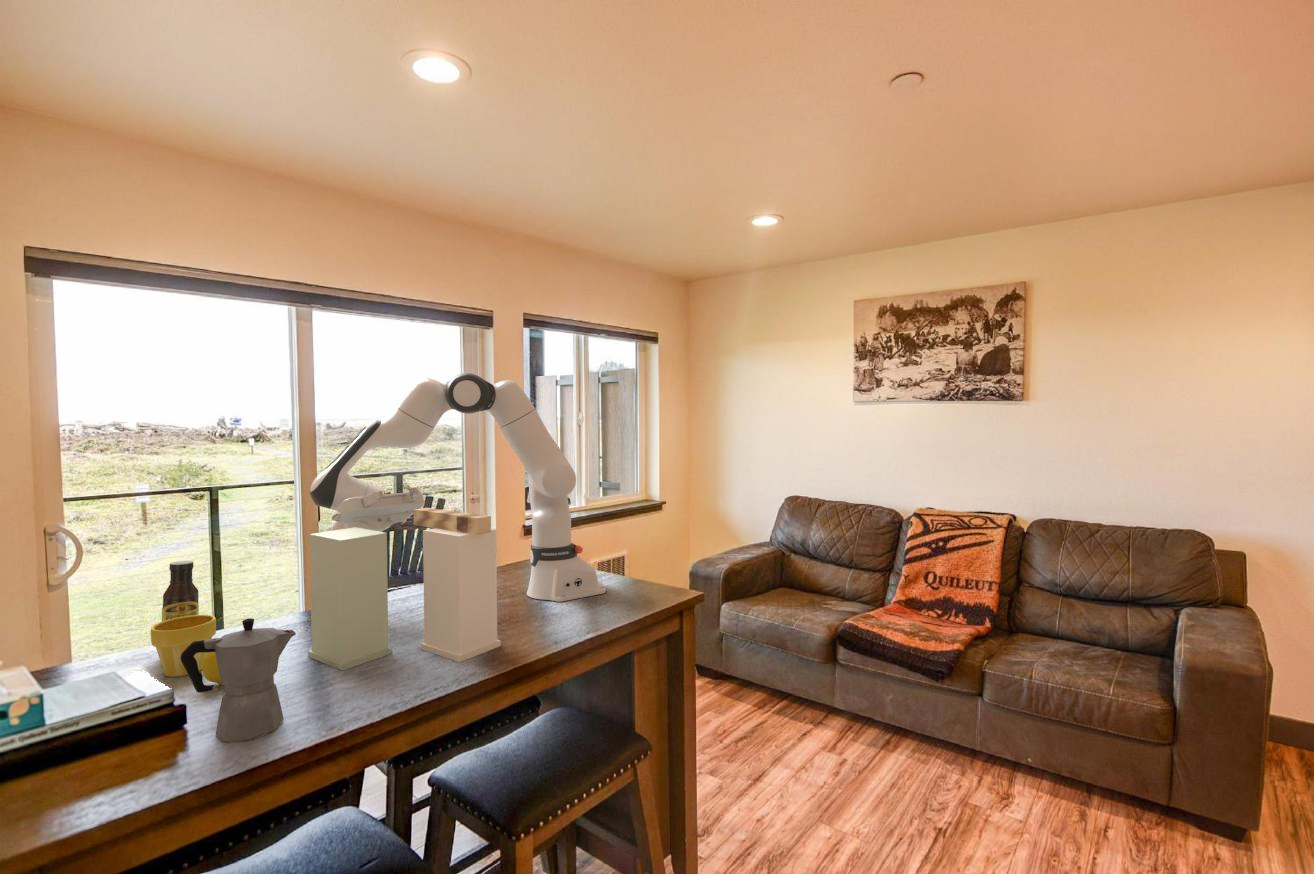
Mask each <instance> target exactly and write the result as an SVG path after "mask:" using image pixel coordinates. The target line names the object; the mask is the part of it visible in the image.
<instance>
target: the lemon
mask: <svg viewBox="0 0 1314 874" xmlns="http://www.w3.org/2000/svg"><path fill="white" fill-rule="evenodd" d="M201 671H202V675H203V676H204V679H206V680H207V681H208V682H210V683H215V684H217V685H219V686H221V685H224V684H223V683H222V682H221V678H220V673H219V668H218V663H217V659H216V654H215V652H207V653H206V654H205V656H204V659H203V665H202V670H201Z"/></svg>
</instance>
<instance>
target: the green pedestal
mask: <svg viewBox="0 0 1314 874" xmlns="http://www.w3.org/2000/svg"><path fill="white" fill-rule="evenodd" d="M387 534H388V532H384V531H381V532H379V531H374V530H368V529H362V528H357V527H354V528H347V529H341V530H334V531H330V530H328V531H323V532H315V533H314V532H313V533H310V534H309V567H310V569H309V570H310V576H309V579H310V620H311V622H310V623H311V625H310V627H311V649H310V650H307V653H308V654H307V656H308V657H309V658H310V659H313V660H316V661H317V662H320V663H323V664H325V665H327V666H329V667H332V668H335V669H337V670H339V671H345V670H348V669H351V668H354V667H356V666H359V665H361V664H365V663H368V662H372V661H373V660H376V659H377V660H378V659H380V658H382V657H385V656H388V655H391V654H393V647H390V646H389V606H388V605H389V602H388V601H389V596H388V595H389V594H388V537H387V536H388V535H387Z"/></svg>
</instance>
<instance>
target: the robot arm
mask: <svg viewBox="0 0 1314 874" xmlns="http://www.w3.org/2000/svg"><path fill="white" fill-rule="evenodd" d="M450 410H455V411H457V412H459V413H461V414H462V413H463V414H474V413H475V414H476V413H478V412H483V411H484V412H485V411H486V412H489V413H490V414H491V416H493V419H494V420H495V422H496V424H497V426H498V427H499V429H500V430H501V432H502V434H503V436H504V438H505V439H506V441H507V442H508V444H509V447H511V449H512V452H513V453H514V454H515V456H516V457H517V458H518V460H519V461H520V462H521V464H522V466H523V467H524V468H525V471H526V472H527V475H528V488H529V489H528V490H529V491H528V492H529V503H530V510H531V511H530V512H531V541H532V543H531V545H530V551H529V552H530V553H529V559H530V561H529V562H530V566H531V568H530V569H531V571H530V577H529V582H528V587H527V591H526V596H528V597H529V598H531V599H536V600H544V601H545V600H547V601H553V602H565V601H570V600H575V599H581V598H586V597H592V596H596V595H601V594H602V595H603V594H605V593H606V592H607V589H606V585H604V583H602V582H600V581H598V580H599V579H598V574H597V571H596V569H595V568H594V567H593V566H592V565H591V564H590V563H588V561H585V560H584V559H583V558H581V557H580V556H579V555H578V554H582V552H584V551H583V550H584V549H583V547H582V546H580V545H577V544H575V543H573V542H572V514H571V511H570V506H569V500H568V499H569V498H568V497H569V496H568V495H570V493H572V492H573V491H574V489H575V487H576V483H577V476H576V473H575V470H574V468H573V467H572V465H571V463H570V462H569V461H568V458H566V456H565V454H564V452H563V451H562V450H561V448H560V446H558V444H557V442H556V441H555V439H553V436H552V435H551V434H550V432H549V431H548V429H547V427H546V425H545V423H544V421H543V420H542V418H541V416H540V415H539V413H538V412H537V410H536V408H535V406H534V404H533V403H532V402H531V399H530V398H529V397H528V395H527V393H525V391H524V390H523V389H522V387H520V385H519V384H518V383H517V382H516V381H514V380H510V379H505V380H500V381H498V382H496V383H490V382H489V381H487V380H486V379H484V378H482V377H481V376H479V374H476V373H473V372H462V373H459V374H458V373H457V374H456V375H455V376H454V377H452V378H451V379H450V380H449V381H447V382H445V383H442V382H439V381H438V380H436V379H432V378H428V377H426V378H425V377H423V378H419V379H418V380H416V381H415V383H414V384H413V385H412V386H411V387H410V388H409V389H408V390H407V392H405V393H404V395H403V396H402V398H401V399H400V400H399V402H398V403H397V405H396V406H395V408H394V409H393V411H392V412H391V413H389V414H388V415H387V416H386V417H384V418H381V419H373V420H372V421H370V422H369V423H368V424H366V425H365V426H364V428H363V429H361V430H360V431H359V432H358V433H357V434H356V436H354V438H353V439H352V440H351V441H349V443H348V444H347V445H346V446H345V447H344V449H343V450H342V451H341V452H340V453H339V454H338V456H337V457H335V459H334V460H333V461H332V462H331V463H330V464H329V465H328V466H327V467H325V468H324V470H323V471H321V472H320V473H319V474H318V475H317V476H316V477H315V478H314V480H313V481H312V483H311V486H310V489H309V495H310V497H311V499H312V501H313V503H314V504H315V505H316V506H318V507H322V508H323V509H324V508H325V509H327V510H333V511H335V512H336V513H334V514H333V515H332V516H331V520H332V521H334V522H335V523H334V524H333V526H331V528H330V529H329V531H334V530H341V529H347V528H354V527H357V528H362V529H368V530H374V531H379V532H384V531H385V530H388V529H389V528H392V527H397V526H400V525H404V524H405V523H407V520H408V518H409V517H412V516H414V509H421V508H423V507H424V506H425V499H424V495H423V494H422V492H421V491H420V490H419V488H418V487H411V488H410V489H409V490H408V492H398V493H396V492H395V493H387V494H386V491H385V490H384V489H382V488H381V487H378V486H377V485H374V484H373V483H370V482H366V481H364V480H362V479H359V478H357V477H354V476H352V475H350V474H348V473H349V472H350V470H351V469H352V468H353V467H354V466H356V464H357V462H359V460H361V458H362V457H363V456H364V455H365V454H366V453H367V452H368V451H370V450H371V449H373V448H378V447H390V448H400V449H408V448H409V449H411V448H415V447H419V446H420V445H422V444H424V443H425V442H426V440H427V439H428V438H429V437H430V436H431V434H432V433H433V430H434V429H435V427H436V426H437V424H438V423H439V421H440V420H441V418H442V417H443V415H444V414H446V412H448V411H450Z"/></svg>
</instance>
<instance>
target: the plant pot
mask: <svg viewBox="0 0 1314 874" xmlns="http://www.w3.org/2000/svg"><path fill="white" fill-rule="evenodd" d="M216 632H217V619H216V617H215V616H214V615H212V614H199V615H191V616H184V617H178V618H173V619H169V620H166V621H162V620H161V621H160V622H157V623H155V624H153V625H152V626H151V628H150V642H151V645H152V647H155V648H156V651H157V655H158V658H159V661H160V664H161V667H162V670H163V674H164V675H165V676H166V677H174V678H176V677H184V676H188V673H187V671H186V669H185V667H184V666H183V664H182V662H181V654H182V653H183V651H184V650H185V649H186V648H187V647H188V646H189V645H190V644H191V643H192V642H194V641H201V640H207V639H213V636H215V635H216V634H217V633H216ZM206 653H207V652H200V653H196V654H195V655H194V658H195V659H196V661H197V664H198V669H199V671H200V672H201V671H203V670H202V665H203V659H204V656H205V654H206Z"/></svg>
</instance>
